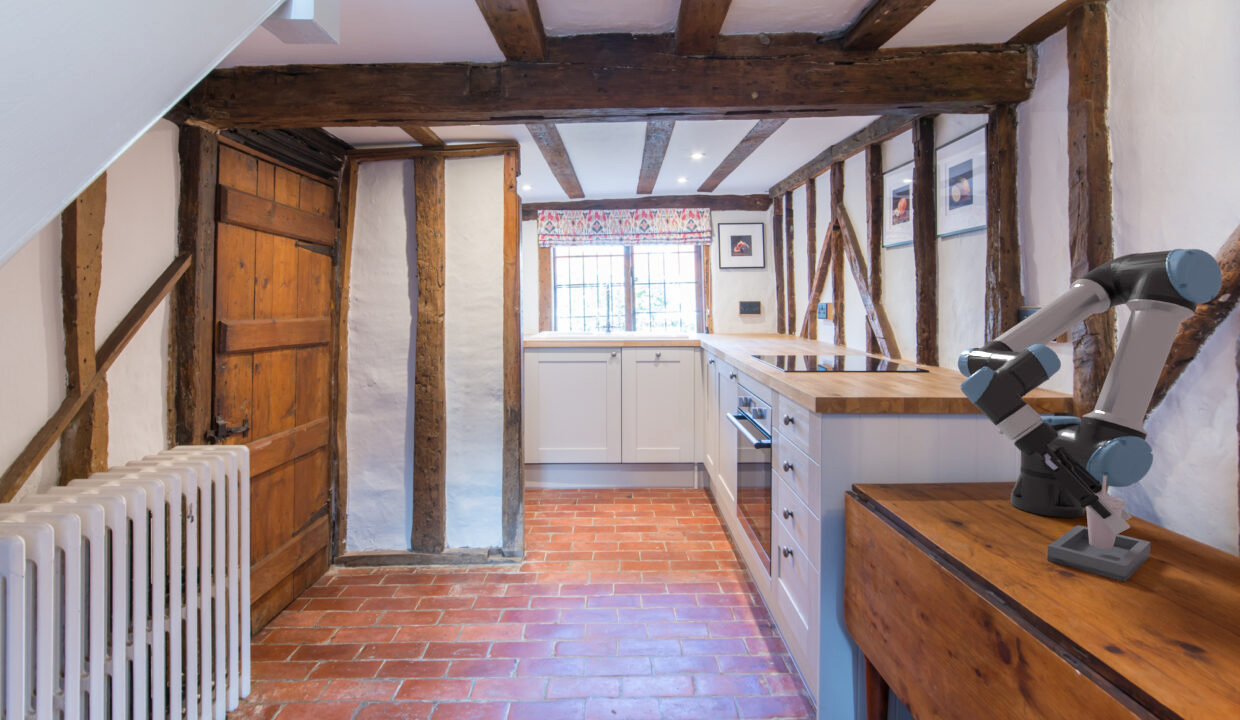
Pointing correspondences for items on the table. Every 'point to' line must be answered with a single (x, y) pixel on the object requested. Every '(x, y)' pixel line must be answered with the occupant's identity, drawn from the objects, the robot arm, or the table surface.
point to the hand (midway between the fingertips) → (1124, 525)
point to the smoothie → (1097, 528)
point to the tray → (1099, 554)
